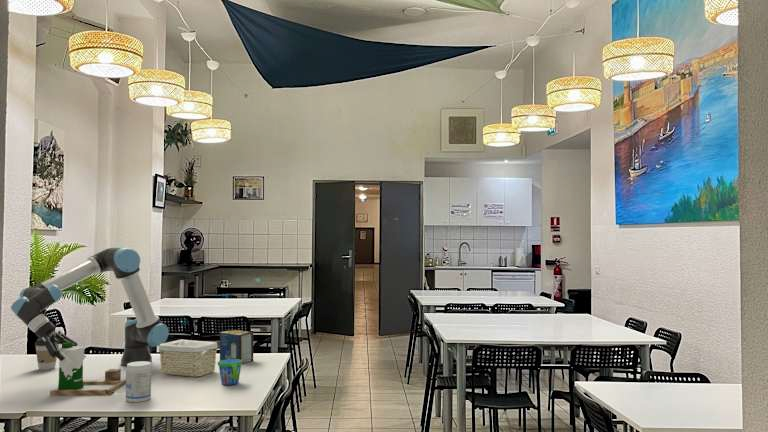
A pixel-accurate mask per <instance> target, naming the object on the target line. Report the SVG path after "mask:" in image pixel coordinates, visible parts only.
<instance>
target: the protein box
mask: <svg viewBox="0 0 768 432" xmlns="http://www.w3.org/2000/svg"><path fill="white" fill-rule="evenodd" d="M227 359H239V360H242V364H246V363H251V362H254V331H245V330H237V329H232V330H226V331H219V361H221V360H227ZM250 361H251V362H250ZM245 362H246V363H245Z"/></svg>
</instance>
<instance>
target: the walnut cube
mask: <svg viewBox="0 0 768 432" xmlns="http://www.w3.org/2000/svg"><path fill="white" fill-rule="evenodd" d="M121 373H122V370H121V368H108V369H107V370H105V371H104V380H105V381H120V380H122V379H121V378H122V377H121Z"/></svg>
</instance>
